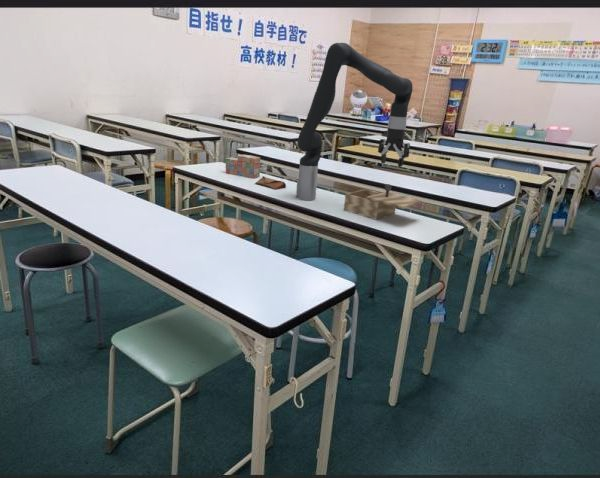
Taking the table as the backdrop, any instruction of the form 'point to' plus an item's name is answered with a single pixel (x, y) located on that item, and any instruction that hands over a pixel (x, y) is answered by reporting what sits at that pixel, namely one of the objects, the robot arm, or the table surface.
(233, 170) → the stack of blocks
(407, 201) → the box lid
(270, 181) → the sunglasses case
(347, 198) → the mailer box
